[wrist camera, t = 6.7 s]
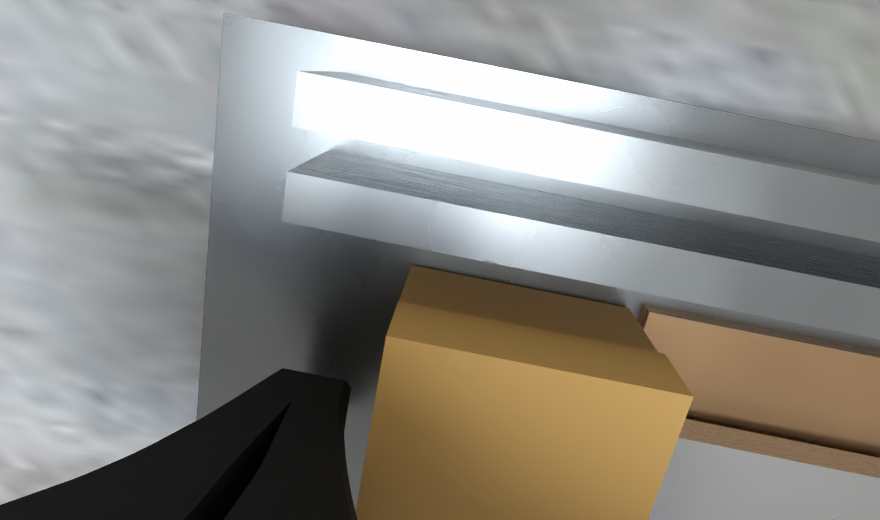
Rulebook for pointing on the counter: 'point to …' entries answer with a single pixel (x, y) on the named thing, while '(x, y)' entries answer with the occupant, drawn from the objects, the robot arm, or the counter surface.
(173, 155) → the counter surface
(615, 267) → the grey fixture base plate
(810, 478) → the strap
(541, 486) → the clip
